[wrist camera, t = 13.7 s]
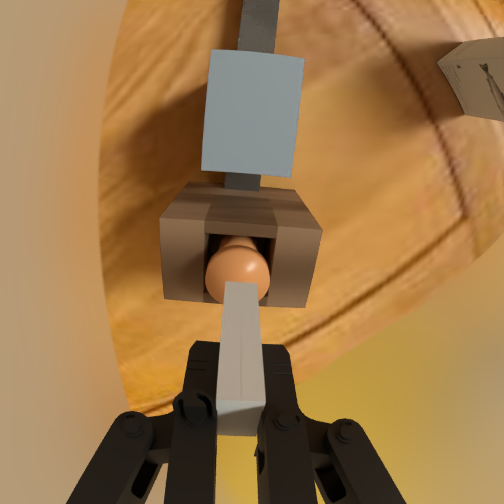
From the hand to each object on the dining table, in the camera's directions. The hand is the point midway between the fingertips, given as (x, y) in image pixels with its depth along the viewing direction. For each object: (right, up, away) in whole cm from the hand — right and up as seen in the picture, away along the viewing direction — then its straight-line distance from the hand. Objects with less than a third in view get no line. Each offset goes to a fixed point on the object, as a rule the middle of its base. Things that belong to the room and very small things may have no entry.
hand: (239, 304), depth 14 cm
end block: (-1, +6, +13) cm, 14 cm away
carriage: (0, +15, +9) cm, 17 cm away
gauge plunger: (0, +4, +8) cm, 9 cm away
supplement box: (+25, +23, +6) cm, 34 cm away
